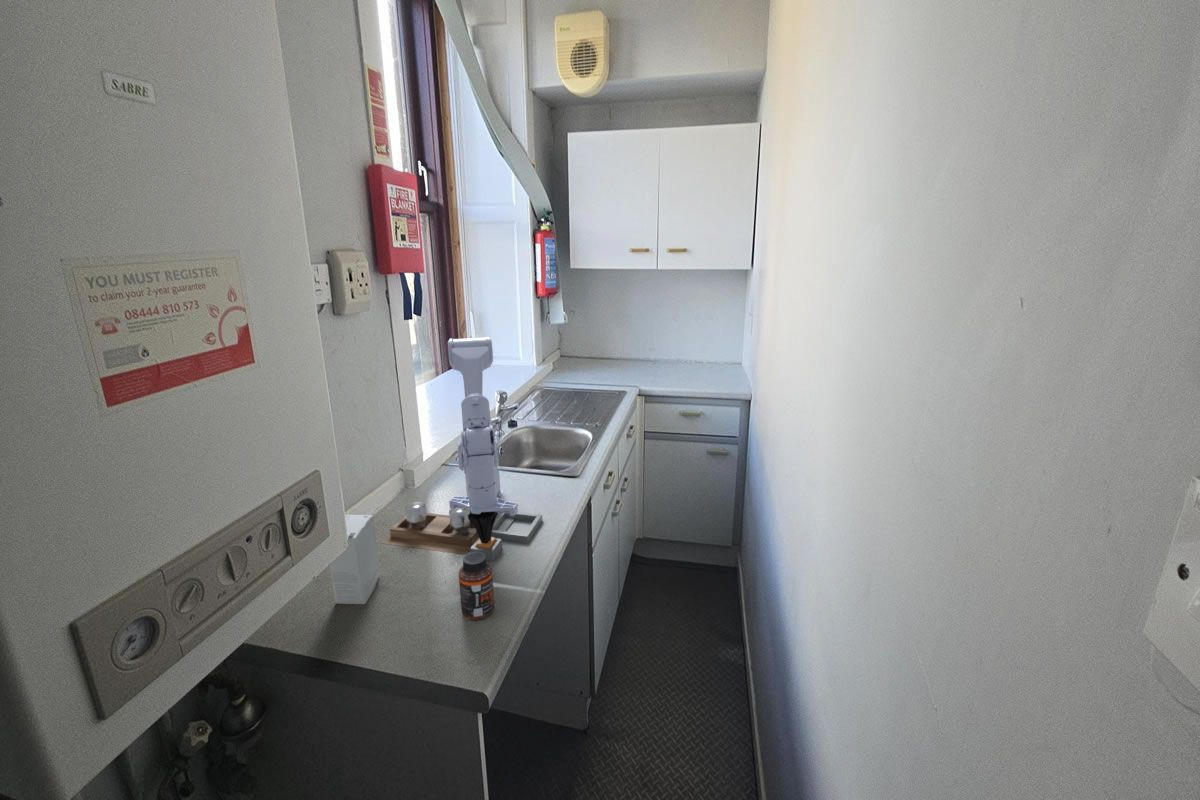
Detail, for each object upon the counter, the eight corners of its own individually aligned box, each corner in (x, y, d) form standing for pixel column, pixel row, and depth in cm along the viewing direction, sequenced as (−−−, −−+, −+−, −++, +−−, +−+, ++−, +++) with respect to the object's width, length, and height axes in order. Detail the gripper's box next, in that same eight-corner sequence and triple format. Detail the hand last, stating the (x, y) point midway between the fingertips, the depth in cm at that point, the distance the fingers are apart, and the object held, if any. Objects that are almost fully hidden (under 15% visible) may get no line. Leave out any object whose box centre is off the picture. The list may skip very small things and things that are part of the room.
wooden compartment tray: (415, 516, 135) (414, 505, 134) (494, 525, 130) (494, 514, 129) (381, 546, 122) (379, 534, 121) (468, 558, 117) (466, 546, 116)
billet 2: (457, 528, 127) (455, 504, 125) (474, 530, 126) (472, 507, 124) (447, 537, 123) (445, 514, 121) (465, 540, 122) (463, 516, 120)
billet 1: (414, 523, 129) (411, 500, 127) (431, 525, 128) (428, 502, 127) (404, 533, 125) (401, 509, 123) (421, 535, 124) (418, 511, 122)
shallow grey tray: (503, 517, 134) (502, 510, 133) (542, 522, 131) (542, 514, 131) (486, 539, 124) (485, 531, 124) (527, 544, 122) (527, 536, 121)
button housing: (481, 548, 121) (480, 536, 120) (502, 550, 120) (501, 538, 119) (471, 560, 116) (470, 548, 115) (493, 563, 115) (492, 551, 114)
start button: (483, 547, 120) (482, 535, 119) (496, 549, 119) (495, 537, 118) (477, 555, 117) (476, 543, 116) (490, 557, 116) (489, 544, 115)
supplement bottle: (487, 624, 98) (482, 569, 94) (456, 619, 99) (450, 565, 95) (499, 602, 103) (496, 550, 100) (470, 598, 104) (465, 546, 101)
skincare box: (353, 578, 111) (343, 512, 106) (383, 578, 110) (374, 512, 106) (334, 606, 102) (321, 536, 98) (366, 606, 102) (355, 536, 98)
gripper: (439, 487, 111) (445, 546, 115) (506, 494, 108) (510, 555, 112) (456, 473, 117) (461, 529, 121) (520, 479, 114) (523, 537, 118)
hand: (486, 540), depth 117 cm, fingers closed, pressing on start button
